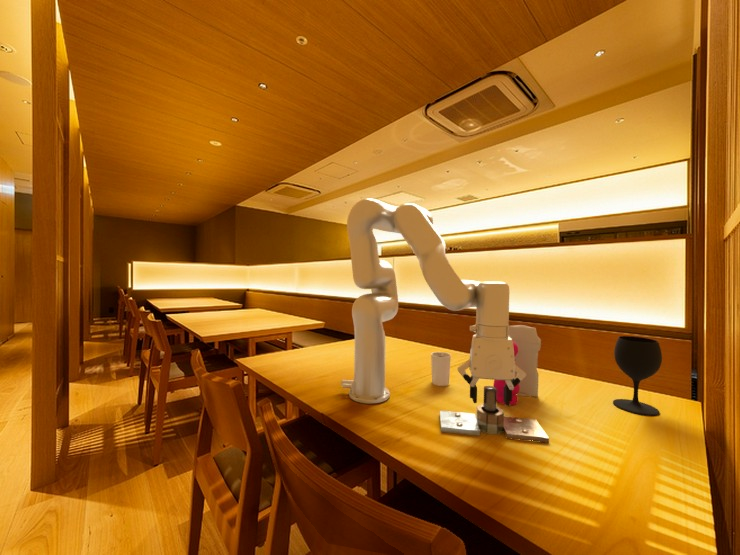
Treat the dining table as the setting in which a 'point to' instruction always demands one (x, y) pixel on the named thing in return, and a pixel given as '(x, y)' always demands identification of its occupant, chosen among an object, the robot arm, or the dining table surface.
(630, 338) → the wine glass
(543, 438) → the hinge
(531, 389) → the beige upright panel
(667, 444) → the dining table surface
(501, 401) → the pepper mill
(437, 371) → the paper coffee cup
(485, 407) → the hinge pin
